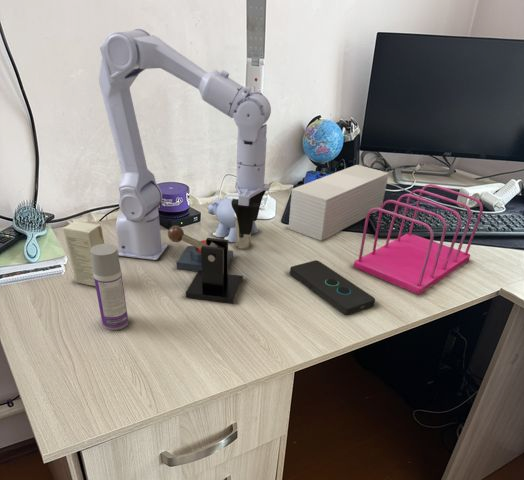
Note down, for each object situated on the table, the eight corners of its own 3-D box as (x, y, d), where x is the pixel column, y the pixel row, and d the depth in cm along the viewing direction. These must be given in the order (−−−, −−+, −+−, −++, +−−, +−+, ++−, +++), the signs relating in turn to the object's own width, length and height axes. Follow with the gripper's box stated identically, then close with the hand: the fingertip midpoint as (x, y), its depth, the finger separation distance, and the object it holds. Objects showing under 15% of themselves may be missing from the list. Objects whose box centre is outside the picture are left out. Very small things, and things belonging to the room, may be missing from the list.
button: (195, 253, 109) (195, 245, 108) (199, 246, 111) (199, 239, 110) (211, 254, 108) (211, 247, 107) (215, 248, 111) (215, 241, 110)
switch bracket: (185, 297, 99) (183, 251, 93) (198, 275, 107) (197, 231, 101) (233, 303, 98) (234, 257, 92) (243, 280, 106) (244, 236, 100)
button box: (176, 268, 109) (175, 254, 107) (188, 251, 116) (187, 238, 114) (224, 274, 108) (224, 260, 105) (233, 257, 115) (233, 243, 113)
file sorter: (469, 261, 119) (490, 198, 110) (418, 296, 104) (438, 227, 95) (406, 238, 128) (421, 179, 119) (352, 267, 113) (364, 202, 104)
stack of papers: (321, 240, 125) (326, 199, 118) (288, 228, 130) (291, 188, 123) (381, 209, 145) (388, 172, 138) (351, 200, 150) (356, 164, 143)
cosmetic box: (111, 279, 104) (103, 224, 96) (99, 288, 100) (90, 232, 93) (86, 273, 105) (75, 219, 98) (73, 282, 102) (61, 227, 94)
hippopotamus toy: (224, 218, 134) (224, 183, 128) (266, 234, 126) (268, 198, 121) (196, 228, 127) (195, 192, 121) (239, 246, 119) (240, 209, 114)
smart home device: (346, 308, 95) (288, 266, 108) (345, 316, 96) (287, 273, 109) (377, 298, 99) (317, 259, 112) (375, 305, 100) (316, 265, 113)
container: (104, 316, 92) (91, 243, 83) (130, 316, 93) (119, 243, 84) (100, 330, 88) (86, 255, 79) (126, 330, 89) (115, 255, 80)
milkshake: (253, 251, 118) (254, 211, 112) (231, 248, 118) (232, 209, 112) (257, 244, 121) (258, 205, 115) (236, 241, 122) (236, 202, 116)
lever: (163, 240, 96) (167, 226, 94) (168, 234, 98) (173, 220, 97) (216, 264, 97) (222, 251, 95) (220, 257, 100) (225, 245, 98)
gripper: (265, 175, 90) (261, 242, 99) (275, 154, 102) (271, 216, 110) (228, 171, 91) (227, 238, 99) (242, 151, 103) (241, 212, 111)
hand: (248, 226), depth 105 cm, fingers open, 7 cm apart
